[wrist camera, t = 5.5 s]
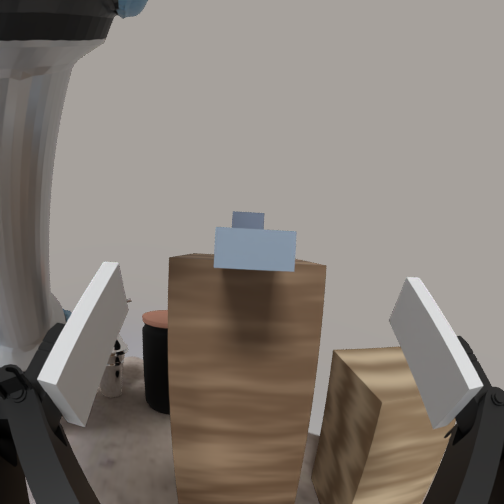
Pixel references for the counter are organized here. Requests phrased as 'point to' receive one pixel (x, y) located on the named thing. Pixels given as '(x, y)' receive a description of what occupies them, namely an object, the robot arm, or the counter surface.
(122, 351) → the cup with straw
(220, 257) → the lid
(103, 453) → the counter surface
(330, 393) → the oak block
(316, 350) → the walnut box
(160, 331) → the coffee jar
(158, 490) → the counter surface
